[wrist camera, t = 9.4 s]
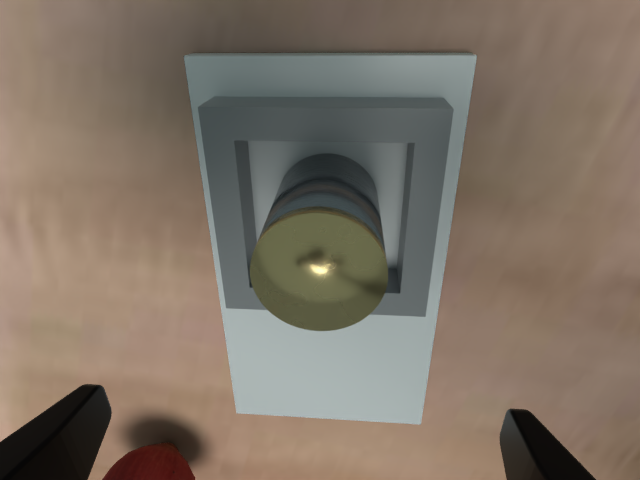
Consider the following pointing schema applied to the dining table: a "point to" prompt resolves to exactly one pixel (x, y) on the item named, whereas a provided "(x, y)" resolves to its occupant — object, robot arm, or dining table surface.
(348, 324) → the lidded tin can
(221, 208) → the dock
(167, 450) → the onion
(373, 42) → the dining table surface
